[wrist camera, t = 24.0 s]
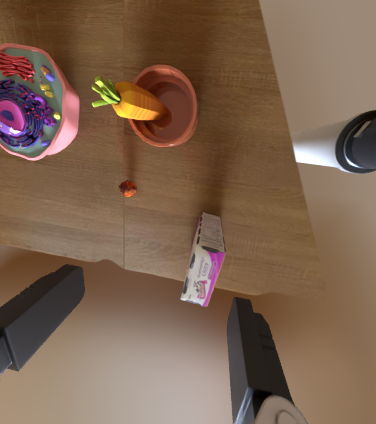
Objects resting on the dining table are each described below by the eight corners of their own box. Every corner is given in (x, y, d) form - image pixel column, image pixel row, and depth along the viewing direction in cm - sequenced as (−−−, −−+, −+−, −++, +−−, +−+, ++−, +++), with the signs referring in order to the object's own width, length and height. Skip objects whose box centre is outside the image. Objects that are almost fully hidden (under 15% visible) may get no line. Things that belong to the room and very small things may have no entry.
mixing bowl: (203, 82, 34) (201, 67, 28) (195, 150, 38) (192, 150, 32) (141, 76, 35) (126, 61, 29) (140, 143, 39) (126, 142, 33)
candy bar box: (209, 255, 46) (207, 309, 31) (190, 250, 46) (178, 300, 31) (222, 216, 42) (227, 253, 27) (201, 210, 42) (194, 244, 27)
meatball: (141, 184, 42) (134, 187, 39) (135, 197, 44) (127, 201, 40) (127, 176, 42) (119, 179, 38) (122, 189, 43) (113, 193, 40)
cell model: (114, 117, 38) (76, 105, 28) (58, 172, 44) (9, 179, 34) (57, 39, 35) (-11, -8, 25) (5, 110, 41) (-68, 96, 31)
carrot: (161, 131, 38) (89, 117, 26) (155, 106, 37) (78, 81, 25) (179, 120, 35) (108, 99, 23) (173, 93, 34) (96, 57, 22)
